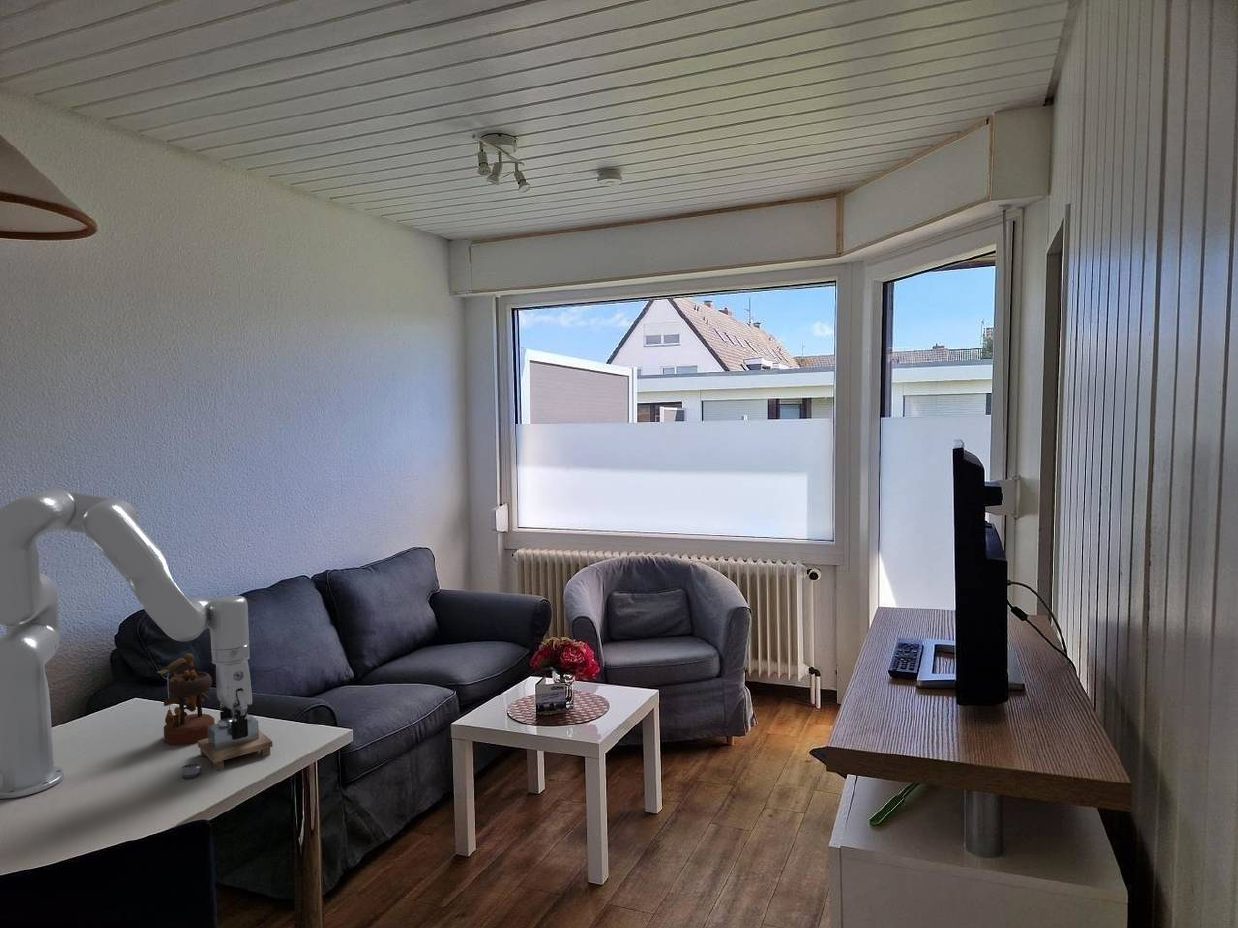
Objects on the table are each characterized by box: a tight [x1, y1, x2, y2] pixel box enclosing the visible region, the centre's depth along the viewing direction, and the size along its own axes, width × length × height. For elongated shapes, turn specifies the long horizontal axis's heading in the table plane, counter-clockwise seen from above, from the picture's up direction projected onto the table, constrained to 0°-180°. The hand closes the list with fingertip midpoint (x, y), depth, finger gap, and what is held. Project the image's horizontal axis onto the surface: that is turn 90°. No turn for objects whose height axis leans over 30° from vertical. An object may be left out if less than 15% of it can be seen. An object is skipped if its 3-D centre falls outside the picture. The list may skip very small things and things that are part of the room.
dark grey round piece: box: [180, 762, 202, 781], centre depth 167 cm, size 4×4×2 cm
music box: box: [156, 653, 215, 746], centre depth 188 cm, size 15×11×20 cm
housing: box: [208, 713, 260, 750], centre depth 177 cm, size 5×9×5 cm, turn 132°
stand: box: [197, 730, 273, 771], centre depth 177 cm, size 12×12×3 cm
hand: (234, 732), depth 177 cm, fingers open, 7 cm apart
